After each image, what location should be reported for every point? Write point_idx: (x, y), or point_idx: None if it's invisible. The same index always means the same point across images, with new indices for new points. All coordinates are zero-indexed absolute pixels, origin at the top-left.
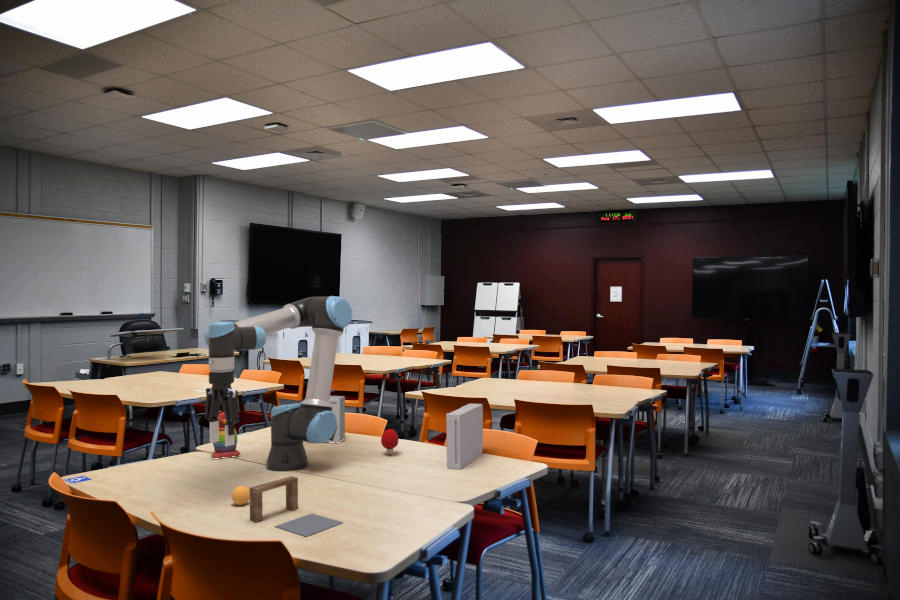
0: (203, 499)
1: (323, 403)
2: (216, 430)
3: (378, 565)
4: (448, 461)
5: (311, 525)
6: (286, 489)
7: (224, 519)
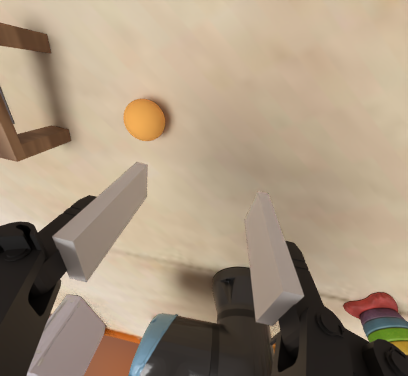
0: (250, 112)
1: None
2: (254, 254)
3: None
4: (73, 303)
5: None
6: (34, 138)
7: (92, 8)
